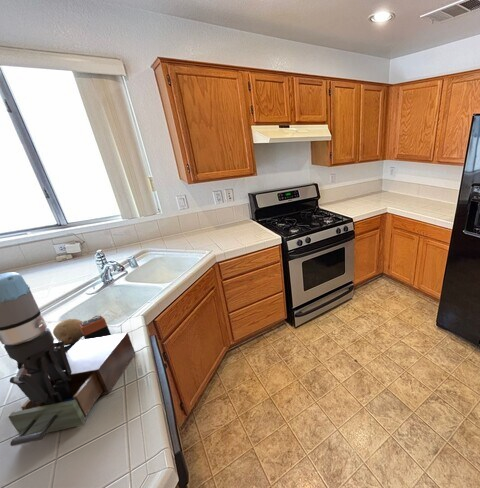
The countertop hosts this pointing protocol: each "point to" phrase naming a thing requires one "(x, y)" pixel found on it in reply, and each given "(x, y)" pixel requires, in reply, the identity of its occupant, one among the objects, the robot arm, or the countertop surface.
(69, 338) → the natural sponge
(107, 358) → the cabinet
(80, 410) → the drawer
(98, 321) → the battery
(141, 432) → the countertop surface
